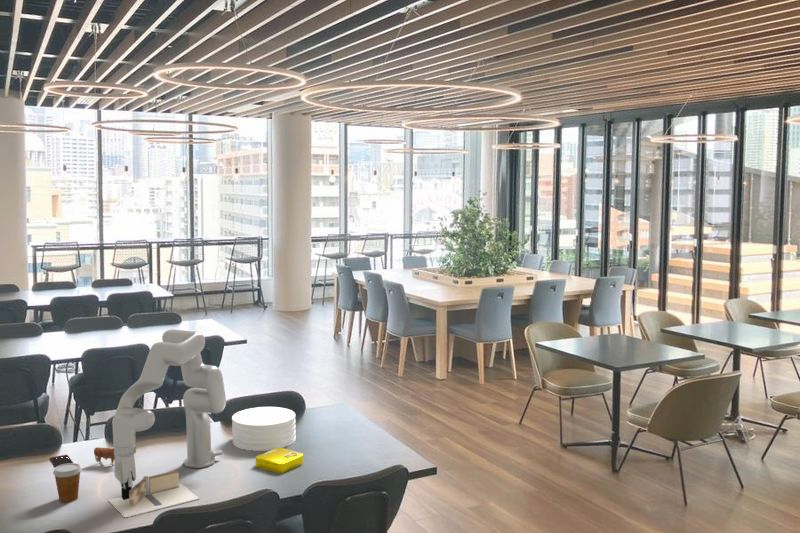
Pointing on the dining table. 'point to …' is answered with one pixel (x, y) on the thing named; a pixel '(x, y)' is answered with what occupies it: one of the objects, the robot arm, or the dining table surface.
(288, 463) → the element tile
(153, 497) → the card
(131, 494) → the fence panel
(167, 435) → the dining table surface
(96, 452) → the bull figurine
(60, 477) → the disposable coffee cup
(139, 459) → the dining table surface
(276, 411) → the plate stack
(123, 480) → the robot arm
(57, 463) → the smartphone
